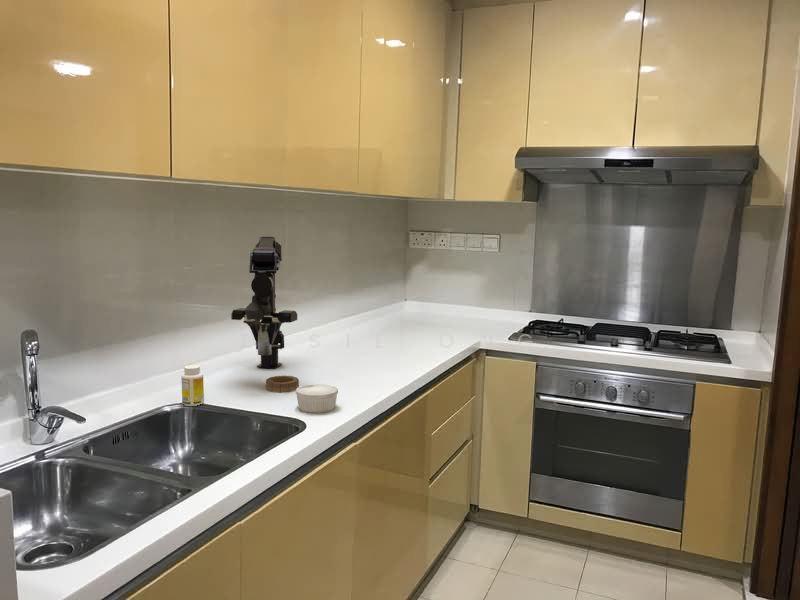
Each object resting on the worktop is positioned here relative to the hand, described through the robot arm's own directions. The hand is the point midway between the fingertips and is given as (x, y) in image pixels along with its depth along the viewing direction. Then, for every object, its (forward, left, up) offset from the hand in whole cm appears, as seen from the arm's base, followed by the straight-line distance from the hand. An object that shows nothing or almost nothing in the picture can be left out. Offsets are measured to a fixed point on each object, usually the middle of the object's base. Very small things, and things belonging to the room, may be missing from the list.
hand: (264, 344), depth 196 cm
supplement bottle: (+23, -11, -13) cm, 28 cm away
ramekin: (+18, +22, -13) cm, 32 cm away
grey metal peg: (0, 0, -3) cm, 3 cm away
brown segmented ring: (+2, +6, -12) cm, 14 cm away
